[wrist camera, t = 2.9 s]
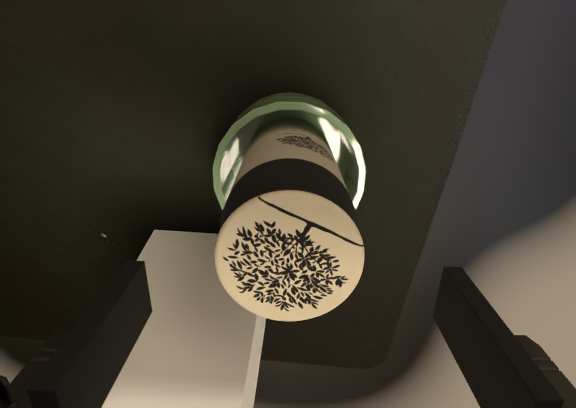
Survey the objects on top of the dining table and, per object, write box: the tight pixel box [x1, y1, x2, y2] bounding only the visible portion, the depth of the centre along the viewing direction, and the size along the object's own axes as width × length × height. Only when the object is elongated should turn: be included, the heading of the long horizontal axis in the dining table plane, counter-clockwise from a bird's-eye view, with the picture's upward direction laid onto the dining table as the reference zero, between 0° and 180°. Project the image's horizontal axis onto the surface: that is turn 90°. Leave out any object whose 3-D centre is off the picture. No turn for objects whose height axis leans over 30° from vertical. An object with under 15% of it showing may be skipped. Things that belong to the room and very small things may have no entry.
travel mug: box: [214, 118, 364, 321], centre depth 26 cm, size 8×8×18 cm
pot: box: [213, 93, 366, 210], centre depth 32 cm, size 12×12×6 cm
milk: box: [102, 230, 266, 408], centre depth 28 cm, size 12×12×26 cm
